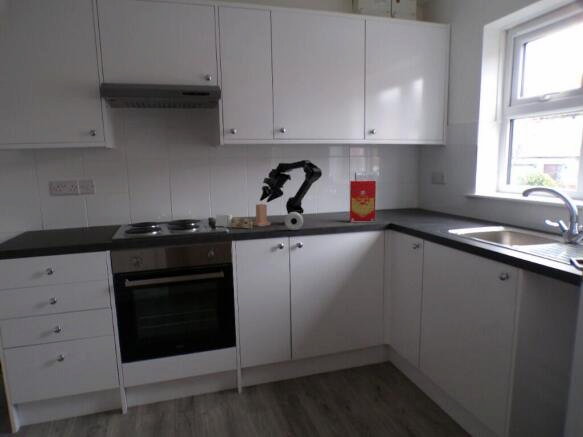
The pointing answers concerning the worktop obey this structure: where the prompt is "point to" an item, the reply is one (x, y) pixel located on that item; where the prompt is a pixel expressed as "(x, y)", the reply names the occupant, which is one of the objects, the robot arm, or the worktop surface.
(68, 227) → the worktop surface
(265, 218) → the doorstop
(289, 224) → the donut
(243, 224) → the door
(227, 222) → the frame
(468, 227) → the worktop surface
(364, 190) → the food packaging
